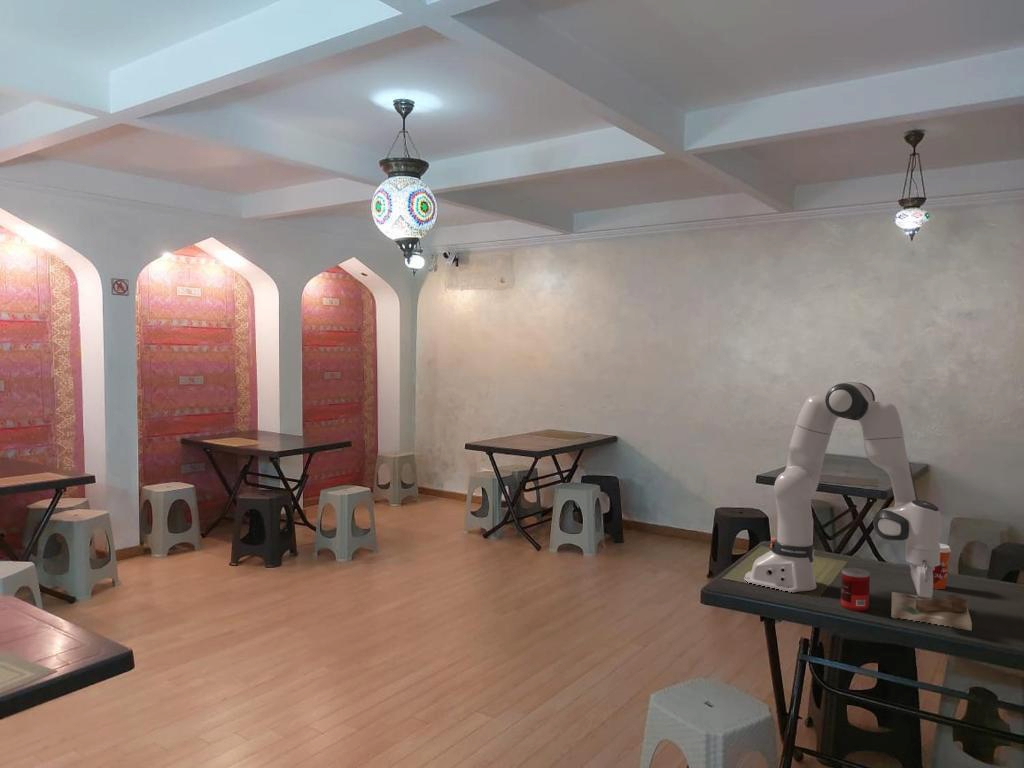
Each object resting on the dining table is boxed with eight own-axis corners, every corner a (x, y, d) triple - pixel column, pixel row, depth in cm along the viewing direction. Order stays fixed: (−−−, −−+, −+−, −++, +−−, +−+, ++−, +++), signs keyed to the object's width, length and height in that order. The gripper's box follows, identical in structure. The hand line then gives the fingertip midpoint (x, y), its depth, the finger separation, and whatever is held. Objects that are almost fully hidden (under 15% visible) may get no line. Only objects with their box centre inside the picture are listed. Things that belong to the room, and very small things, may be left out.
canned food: (872, 607, 224) (873, 571, 223) (862, 613, 218) (863, 577, 218) (846, 600, 229) (848, 565, 229) (836, 606, 224) (837, 571, 223)
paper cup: (942, 592, 238) (944, 549, 237) (918, 585, 244) (920, 544, 243) (953, 587, 243) (955, 546, 242) (929, 581, 249) (931, 540, 248)
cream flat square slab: (891, 617, 215) (891, 610, 215) (891, 598, 232) (891, 591, 232) (971, 630, 206) (972, 623, 206) (965, 609, 223) (966, 602, 223)
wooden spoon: (959, 606, 218) (959, 594, 218) (971, 612, 213) (971, 600, 213) (912, 606, 217) (913, 595, 217) (923, 613, 212) (924, 601, 212)
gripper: (939, 567, 206) (937, 616, 207) (930, 549, 225) (928, 593, 226) (914, 564, 208) (912, 612, 209) (907, 546, 227) (905, 590, 228)
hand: (920, 602), depth 218 cm, fingers closed
